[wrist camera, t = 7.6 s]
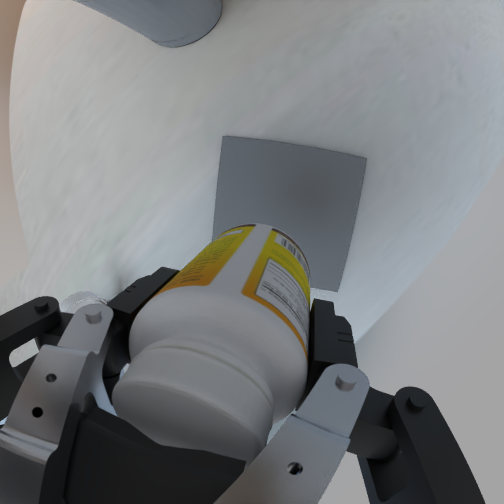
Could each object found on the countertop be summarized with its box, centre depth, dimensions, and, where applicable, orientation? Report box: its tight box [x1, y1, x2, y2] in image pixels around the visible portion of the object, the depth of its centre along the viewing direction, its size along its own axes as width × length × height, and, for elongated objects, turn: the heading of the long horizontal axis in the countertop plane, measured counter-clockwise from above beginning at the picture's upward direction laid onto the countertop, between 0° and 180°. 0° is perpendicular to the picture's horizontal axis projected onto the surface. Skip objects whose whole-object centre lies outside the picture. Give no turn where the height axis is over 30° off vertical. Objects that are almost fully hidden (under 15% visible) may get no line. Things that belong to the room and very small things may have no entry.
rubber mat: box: [212, 136, 367, 292], centre depth 27 cm, size 14×14×1 cm
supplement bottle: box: [112, 223, 310, 470], centre depth 9 cm, size 5×5×10 cm
